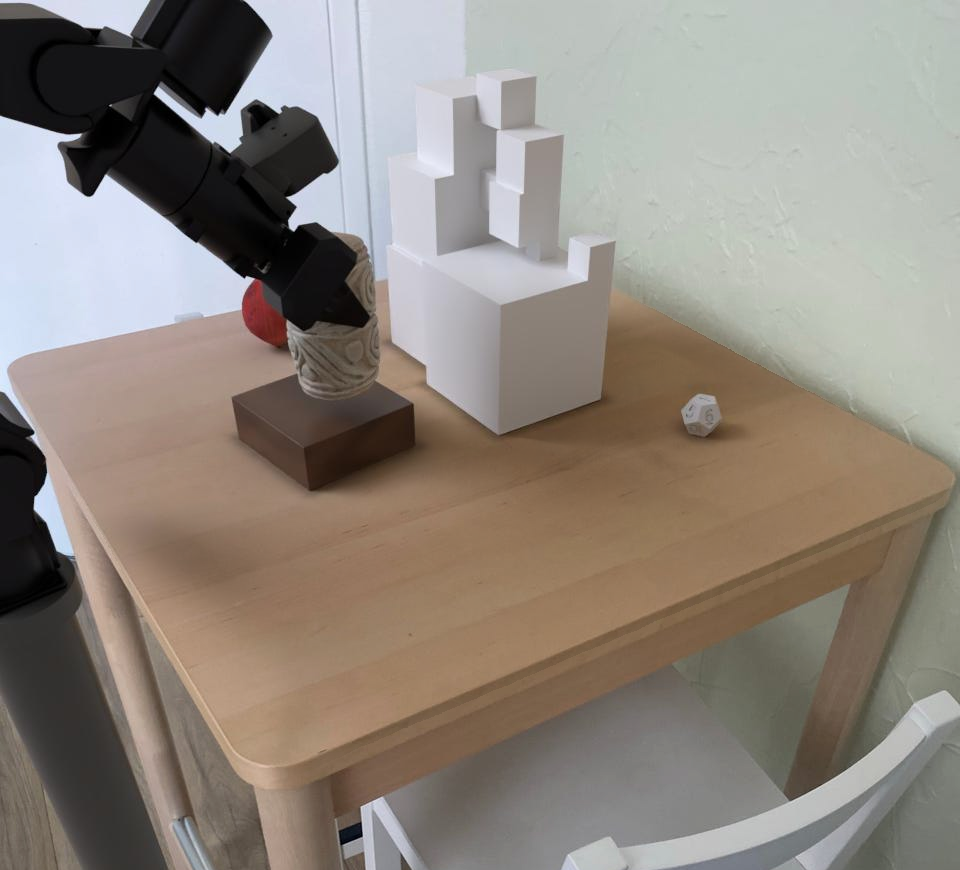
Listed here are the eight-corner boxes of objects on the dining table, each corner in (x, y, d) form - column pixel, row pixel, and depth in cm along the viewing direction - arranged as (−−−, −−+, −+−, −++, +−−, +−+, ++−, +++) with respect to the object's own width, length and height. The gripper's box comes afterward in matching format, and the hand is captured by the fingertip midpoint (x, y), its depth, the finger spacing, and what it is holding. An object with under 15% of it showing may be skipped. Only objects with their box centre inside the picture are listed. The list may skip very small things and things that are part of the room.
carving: (277, 393, 78) (256, 241, 70) (345, 363, 82) (333, 217, 74) (331, 418, 75) (316, 263, 67) (398, 385, 79) (391, 236, 71)
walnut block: (309, 491, 78) (303, 447, 75) (238, 438, 84) (230, 396, 81) (415, 445, 83) (414, 403, 80) (342, 398, 89) (338, 358, 86)
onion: (250, 361, 95) (237, 281, 89) (245, 337, 99) (232, 258, 94) (309, 355, 96) (300, 275, 91) (301, 331, 100) (292, 253, 95)
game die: (707, 445, 83) (712, 414, 81) (670, 431, 85) (675, 400, 83) (727, 429, 85) (733, 399, 83) (691, 416, 87) (696, 385, 85)
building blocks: (600, 399, 89) (629, 97, 73) (498, 435, 84) (503, 120, 68) (470, 319, 102) (469, 48, 86) (375, 346, 97) (354, 64, 81)
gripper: (314, 99, 55) (474, 258, 67) (202, 43, 67) (355, 186, 79) (207, 262, 57) (380, 388, 69) (116, 179, 69) (277, 300, 81)
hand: (348, 308), depth 75 cm, fingers closed on carving, 6 cm apart
